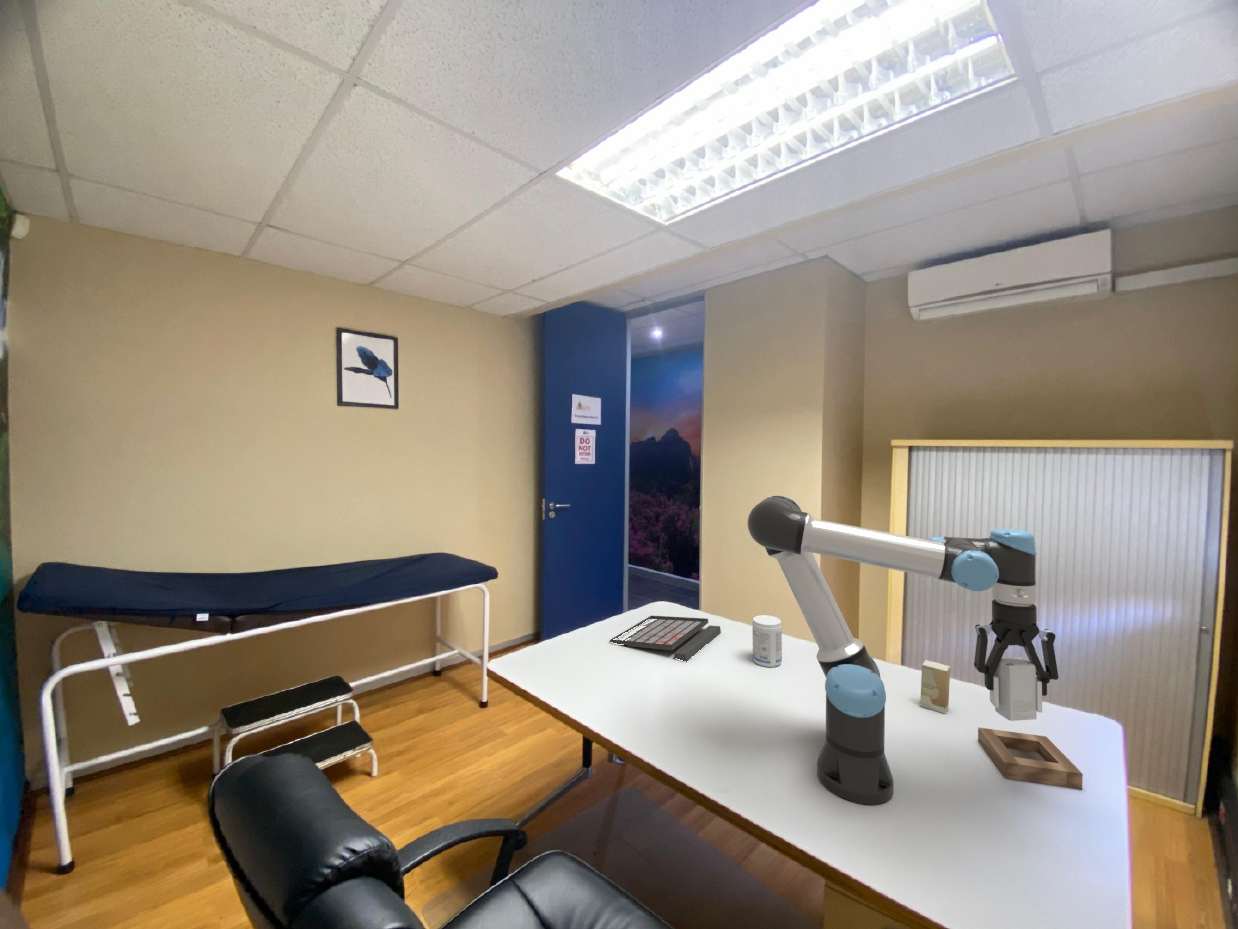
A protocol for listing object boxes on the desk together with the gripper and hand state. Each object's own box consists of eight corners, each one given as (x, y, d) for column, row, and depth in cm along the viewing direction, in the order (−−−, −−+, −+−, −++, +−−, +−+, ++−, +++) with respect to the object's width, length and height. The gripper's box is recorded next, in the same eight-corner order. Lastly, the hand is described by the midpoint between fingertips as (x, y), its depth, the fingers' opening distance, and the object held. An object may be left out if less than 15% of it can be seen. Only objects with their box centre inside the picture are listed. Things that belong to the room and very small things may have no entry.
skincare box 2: (1020, 710, 108) (1019, 655, 108) (1038, 721, 104) (1037, 664, 104) (993, 711, 108) (992, 657, 108) (1010, 722, 104) (1009, 666, 103)
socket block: (1004, 777, 108) (1004, 762, 108) (977, 741, 122) (978, 727, 121) (1082, 789, 104) (1082, 773, 104) (1045, 750, 118) (1046, 736, 118)
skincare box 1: (919, 706, 138) (920, 663, 138) (923, 700, 141) (923, 659, 141) (946, 715, 134) (947, 670, 133) (949, 708, 137) (950, 665, 136)
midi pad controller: (612, 658, 185) (687, 667, 168) (609, 640, 185) (684, 647, 168) (653, 627, 212) (721, 632, 194) (650, 611, 211) (718, 615, 194)
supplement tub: (772, 654, 173) (772, 613, 173) (787, 666, 164) (787, 623, 163) (747, 657, 171) (747, 616, 171) (761, 669, 162) (761, 625, 161)
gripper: (965, 603, 105) (967, 709, 106) (1081, 610, 99) (1082, 722, 99) (954, 593, 112) (956, 692, 113) (1061, 599, 106) (1063, 704, 106)
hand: (1015, 706), depth 106 cm, fingers closed on skincare box 2, 7 cm apart
